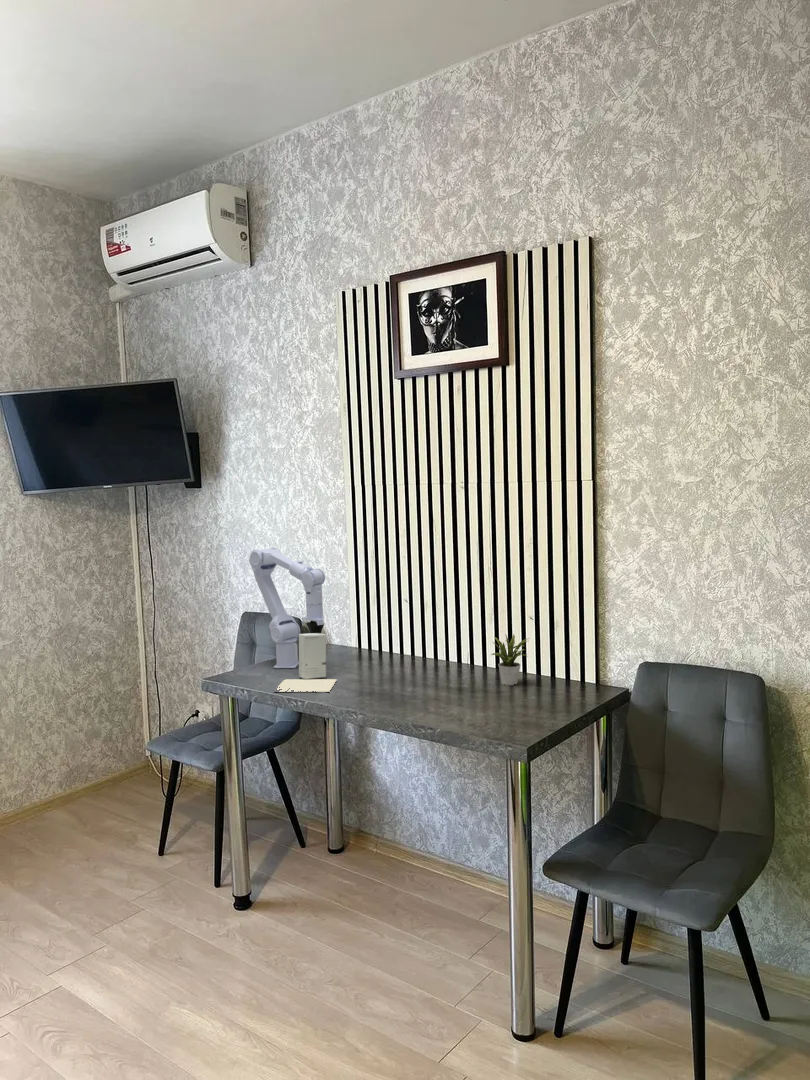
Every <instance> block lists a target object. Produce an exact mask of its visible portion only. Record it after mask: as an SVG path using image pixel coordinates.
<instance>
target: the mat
mask: <svg viewBox="0 0 810 1080" xmlns="http://www.w3.org/2000/svg"><path fill="white" fill-rule="evenodd" d="M336 681H338V679H335V678H334V679H333V678H329V679H326V678H325V679H323V678H322V679H320V678H312V679H303V678H301V679H295V678H294V679H291V678H290V679H289V678H288V679H284V680H282V681H281V683H280V684H279V685H278V686H277V687H278V688H277V687H276V688H277V690H279V689H282V690H280V691H279V692H285V691H287V690H288V689H289V688H290V689H289V690H288V691H287V692H291V690H294V692H298V691H299V692H300V691H301V692H306V691H308V692H312V691H314V692H315V691H316V692H330V693H331V691H332V690H333V688H334V687H333V686H335V685H336V683H337V682H336ZM335 682H336V683H335ZM334 684H335V685H334ZM279 687H280V688H279ZM332 687H333V688H332ZM331 689H332V690H331ZM330 690H331V691H330Z"/></svg>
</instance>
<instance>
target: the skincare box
mask: <svg viewBox="0 0 810 1080" xmlns="http://www.w3.org/2000/svg"><path fill="white" fill-rule="evenodd" d="M298 661H299V664H298V677H299V678H301V679H320V678H326V677H327V634H325V633H322V632H321V633H310V632H309V633H300V634H299V637H298Z"/></svg>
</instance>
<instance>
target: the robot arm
mask: <svg viewBox="0 0 810 1080" xmlns="http://www.w3.org/2000/svg"><path fill="white" fill-rule="evenodd" d="M248 562H249V564H250V566H251V569H252V572H253V574H254V579H255V581H256V583H257V585H258V588H259V590H260V594H261V595H262V597H263V600H264V602H265V605H266V607H267V610H268V612H269V615H270V617H271V618H272V619H271V621H270V623H269V625H268V628H269V629H270V630H269V631H270V637H271V639H272V641H273V642H274V644H275V651H276V652H275V655H276V658H275V659H276V664H275V665H274V666H273V669H296V667H298V666H299V651H298V643H297V641H298V639H299V634H301V628H300V624H298V623H297V622H296V620H295V618H294V617H293V616H292V615H290V614H289V613H287V611H286V609H285V607H284V604H283V603H282V600H281V598H280V595H279V593H278V590H277V588H276V586H275V583H274V581H273V578H272V576H271V575H272V573H273V572H274V571H275V569H276V567H277V566H280V567H282V568H284V569H286V570H288V572H289V574H290V575H291V576H292V577H294V578H295V579H298V580H299V581H300V582H301V583H302V585H303V589H304V592H305V606H306V607H305V609H306V616H303V617H302V618H303V620H306V621H309V622H306V623H305V625H306V626H307V627H308V628H307V629H308V631H309V633H322V632H323V631H322V630H323V628H324V626H325V622H324V618H325V617H324V611H323V610H324V606H323V586H322V585H323V584H324V583H325V580H326V575H325V573H324V571H323V570H321V568H315V569H314V568H313V567H312V566H310V565H307V564H305V563H304V561H303V560H301V559H300V560H295V561H293V559H290V558H289V557H287V556H286V555H285V554H283V553H281V550H280V549H277V548H276V547H270V548H263V549H253V550H252V551H251V552H250V555H249V559H248Z"/></svg>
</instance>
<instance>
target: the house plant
mask: <svg viewBox="0 0 810 1080" xmlns="http://www.w3.org/2000/svg"><path fill="white" fill-rule="evenodd" d="M504 635H505V638H506V640H505V642H506V644H505V643H504V642H502V641H500V640H499V639H498V638H497V637H495V636H494V639H495V640H496V642H497V644H496V643H495V642H494V641H492V643H493V645H495V646H496V647H497V649H498V650H499V652H496V653H495V652H493V653H491V654H490V656H497V657H499V658H500V659H501V661H502V662H500V663H498V668H499V669H498V670H499V676H500V682H501V684H502V685H504V684H505V685H504V686H515V685H514V684H516V685H517V683H519V676H520V670H521V663H519V662H517V661H516V660H517V658H518V657H520V656H521V657H523V656H525V657H527V654H524V652H523V651H526V648H525V649H524V648H523V649H521V650H519V649H520V648H521V647H522V646H524V644H525V643H527V642H528V640H529V639H530V637H529V638H525V639H523V640H521V641H520V642H519V643H518V644H517V645H515V643H516V642H515V638H516V637H515V634H514V633H513V635H512V636H511V637H512V638H511V639H510V640H509V639H508V635H507V634H506V633H505V634H504ZM498 645H499V646H498ZM505 645H507V648H506V646H505ZM522 652H523V653H522ZM521 657H520V658H518V660H519V659H521Z"/></svg>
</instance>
